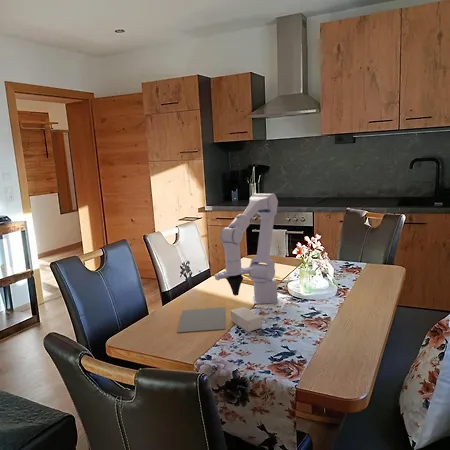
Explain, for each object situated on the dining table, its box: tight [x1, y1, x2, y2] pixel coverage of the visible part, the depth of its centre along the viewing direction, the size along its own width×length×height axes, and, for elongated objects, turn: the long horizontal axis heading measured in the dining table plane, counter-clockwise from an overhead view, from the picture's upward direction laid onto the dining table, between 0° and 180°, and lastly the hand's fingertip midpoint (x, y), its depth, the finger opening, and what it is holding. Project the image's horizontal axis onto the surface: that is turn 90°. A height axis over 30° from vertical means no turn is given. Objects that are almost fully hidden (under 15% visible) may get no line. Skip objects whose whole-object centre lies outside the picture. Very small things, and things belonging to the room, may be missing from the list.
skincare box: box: [230, 306, 263, 333], centre depth 150 cm, size 6×4×12 cm
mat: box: [176, 306, 226, 334], centre depth 158 cm, size 17×20×1 cm
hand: (235, 294), depth 156 cm, fingers closed
